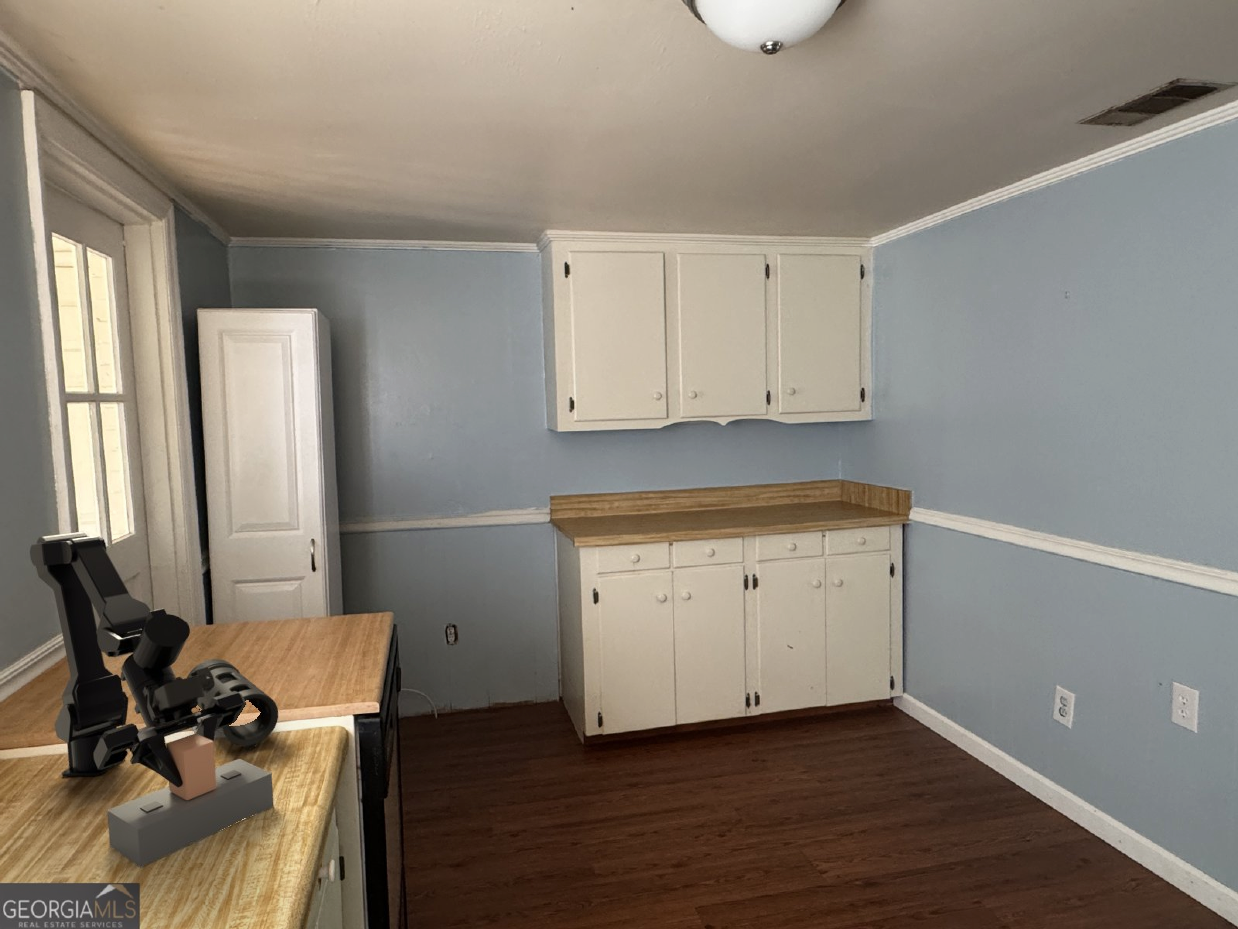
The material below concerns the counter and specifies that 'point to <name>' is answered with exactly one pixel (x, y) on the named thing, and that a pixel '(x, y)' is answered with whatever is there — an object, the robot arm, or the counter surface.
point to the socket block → (188, 813)
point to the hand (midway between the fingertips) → (197, 779)
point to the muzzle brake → (231, 681)
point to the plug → (193, 765)
